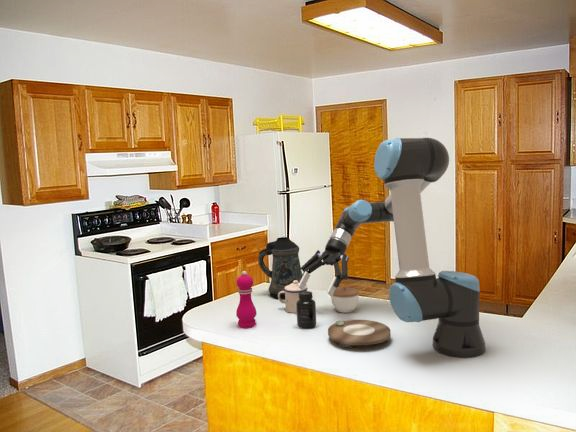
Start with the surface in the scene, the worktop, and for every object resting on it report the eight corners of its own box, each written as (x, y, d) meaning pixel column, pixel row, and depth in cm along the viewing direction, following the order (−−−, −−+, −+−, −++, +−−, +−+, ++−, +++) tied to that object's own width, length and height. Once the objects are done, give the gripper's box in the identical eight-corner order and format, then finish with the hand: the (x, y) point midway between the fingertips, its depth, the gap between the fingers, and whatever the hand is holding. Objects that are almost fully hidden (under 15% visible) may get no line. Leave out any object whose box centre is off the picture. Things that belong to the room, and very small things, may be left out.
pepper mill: (254, 329, 174) (251, 273, 172) (234, 328, 176) (231, 273, 173) (259, 322, 181) (256, 268, 179) (240, 321, 183) (237, 268, 180)
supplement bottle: (320, 325, 176) (319, 292, 174) (307, 330, 171) (306, 296, 169) (305, 321, 180) (304, 289, 179) (293, 326, 175) (291, 293, 174)
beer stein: (314, 295, 212) (312, 238, 209) (273, 304, 202) (271, 243, 199) (294, 287, 226) (292, 233, 223) (256, 294, 217) (253, 238, 214)
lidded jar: (325, 311, 190) (324, 287, 189) (341, 304, 198) (341, 281, 197) (349, 316, 183) (348, 291, 182) (364, 309, 192) (364, 285, 190)
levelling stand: (402, 336, 162) (402, 324, 161) (368, 357, 147) (368, 343, 146) (351, 324, 175) (350, 313, 174) (315, 341, 160) (315, 329, 160)
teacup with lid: (310, 307, 197) (309, 278, 195) (304, 314, 188) (303, 284, 187) (282, 305, 200) (281, 277, 199) (274, 312, 192) (273, 283, 190)
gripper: (370, 252, 182) (347, 302, 173) (317, 245, 199) (293, 291, 190) (361, 240, 178) (337, 291, 169) (308, 234, 194) (283, 280, 185)
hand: (314, 291), depth 179 cm, fingers open, 13 cm apart
